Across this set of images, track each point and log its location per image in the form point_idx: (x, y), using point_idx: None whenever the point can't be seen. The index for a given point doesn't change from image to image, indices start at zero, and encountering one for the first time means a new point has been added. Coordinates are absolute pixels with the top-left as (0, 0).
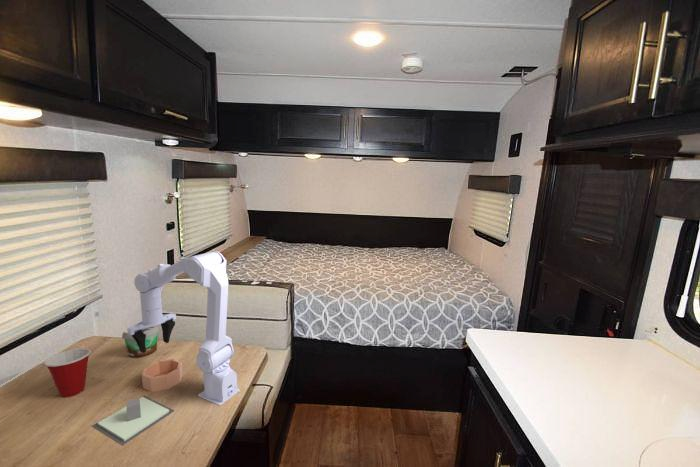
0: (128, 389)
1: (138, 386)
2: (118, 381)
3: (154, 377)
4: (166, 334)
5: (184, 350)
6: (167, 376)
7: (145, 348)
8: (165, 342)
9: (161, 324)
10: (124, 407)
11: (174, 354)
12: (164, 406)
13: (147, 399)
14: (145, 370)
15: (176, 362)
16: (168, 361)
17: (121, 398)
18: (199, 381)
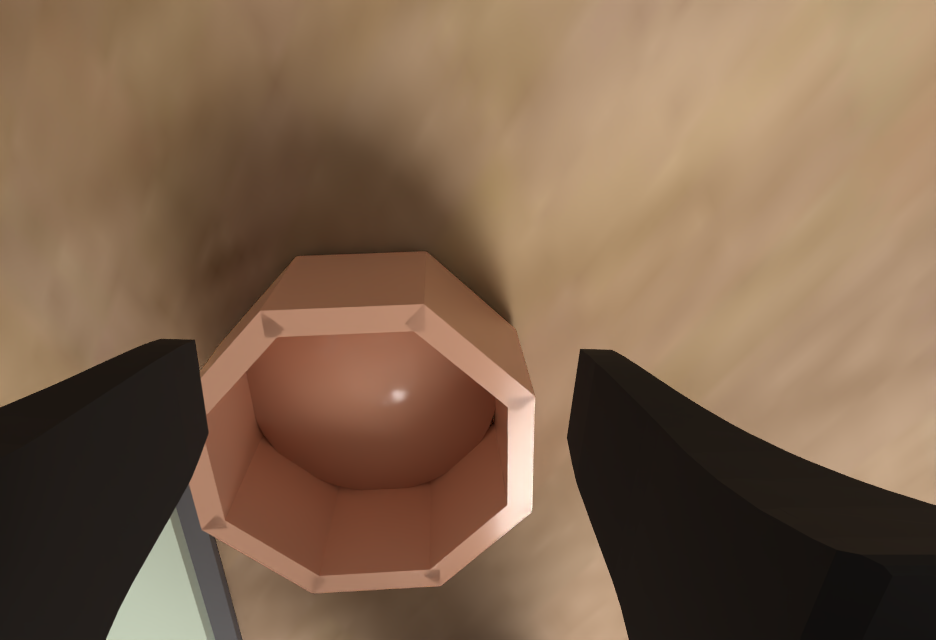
0: (134, 242)
1: (213, 273)
2: (104, 4)
3: (233, 540)
4: (620, 543)
5: (875, 34)
6: (321, 585)
7: (176, 496)
8: (573, 397)
9: (764, 567)
10: None
11: (762, 13)
12: (227, 620)
13: (168, 524)
14: (230, 373)
15: (506, 470)
16: (485, 380)
17: (51, 316)
18: (518, 566)
